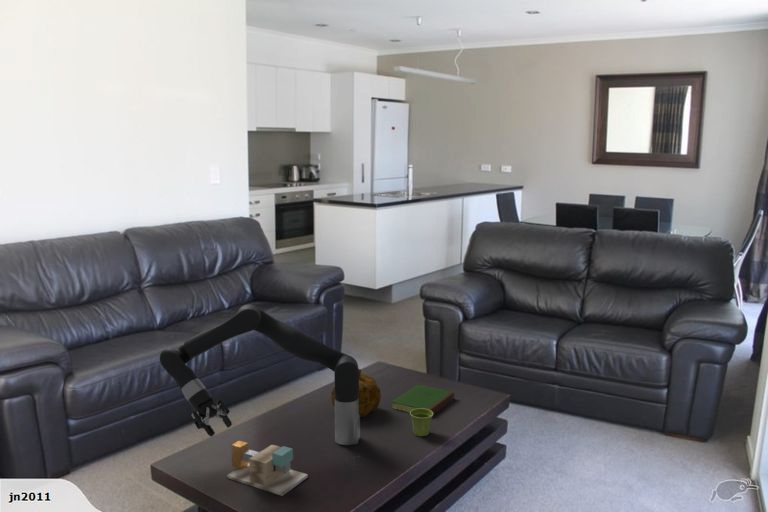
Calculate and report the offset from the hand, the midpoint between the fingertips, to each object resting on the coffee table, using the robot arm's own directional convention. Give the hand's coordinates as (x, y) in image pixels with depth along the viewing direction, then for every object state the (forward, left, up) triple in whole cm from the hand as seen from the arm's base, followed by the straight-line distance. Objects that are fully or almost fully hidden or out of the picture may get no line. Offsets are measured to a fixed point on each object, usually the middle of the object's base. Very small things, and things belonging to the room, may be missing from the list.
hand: (221, 430), depth 228 cm
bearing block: (-20, +7, -13) cm, 25 cm away
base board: (-20, +7, -13) cm, 25 cm away
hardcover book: (-66, -68, -13) cm, 95 cm away
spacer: (-26, +10, -5) cm, 28 cm away
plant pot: (-68, -37, -13) cm, 78 cm away
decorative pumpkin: (-38, -53, -13) cm, 66 cm away
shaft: (-17, +6, -11) cm, 21 cm away
